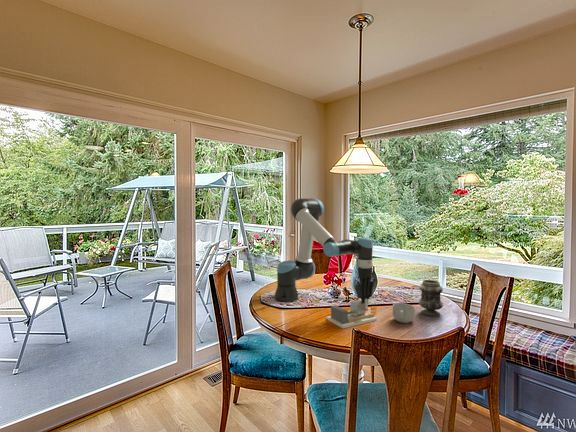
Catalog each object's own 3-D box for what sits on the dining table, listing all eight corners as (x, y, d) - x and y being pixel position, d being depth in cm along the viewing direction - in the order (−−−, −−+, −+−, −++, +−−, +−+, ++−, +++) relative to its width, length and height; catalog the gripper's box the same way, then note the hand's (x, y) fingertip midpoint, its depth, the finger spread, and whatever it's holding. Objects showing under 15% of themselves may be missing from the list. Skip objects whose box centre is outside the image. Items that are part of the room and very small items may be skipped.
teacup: (396, 315, 166) (397, 301, 166) (417, 320, 159) (417, 305, 159) (386, 323, 156) (387, 307, 155) (408, 329, 149) (409, 312, 148)
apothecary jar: (440, 310, 173) (440, 279, 173) (444, 318, 162) (445, 284, 161) (417, 308, 177) (417, 277, 176) (420, 316, 165) (420, 283, 164)
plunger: (350, 314, 164) (350, 301, 164) (357, 312, 167) (357, 300, 166) (363, 320, 155) (363, 307, 155) (370, 319, 158) (370, 305, 157)
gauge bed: (326, 318, 162) (326, 305, 161) (358, 311, 172) (358, 299, 172) (343, 328, 149) (343, 313, 149) (376, 320, 160) (376, 306, 160)
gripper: (360, 269, 158) (360, 314, 159) (379, 266, 164) (378, 310, 165) (350, 266, 164) (350, 310, 165) (369, 264, 170) (368, 306, 172)
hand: (364, 310), depth 165 cm, fingers closed
